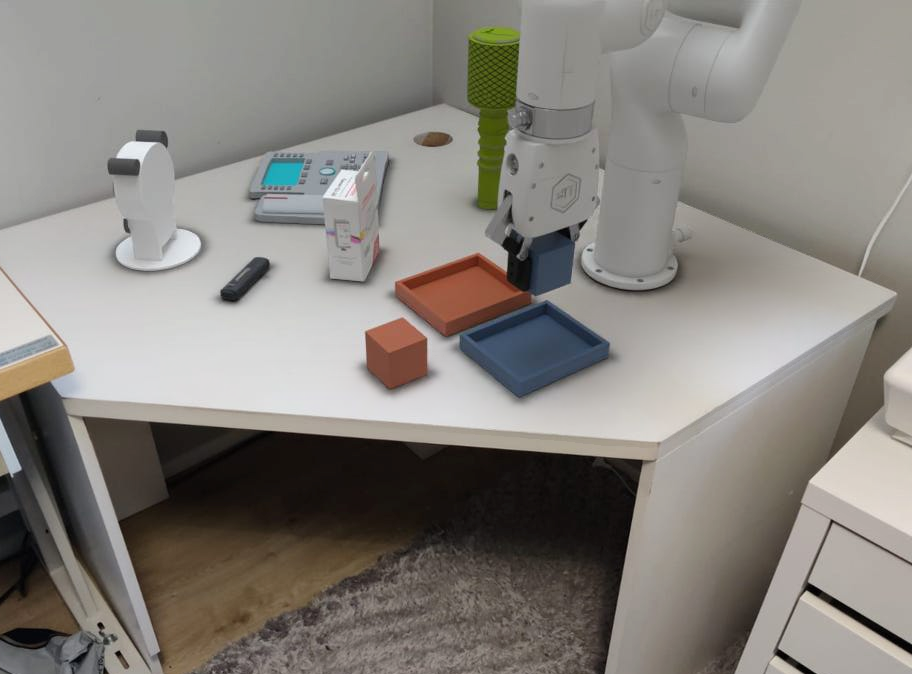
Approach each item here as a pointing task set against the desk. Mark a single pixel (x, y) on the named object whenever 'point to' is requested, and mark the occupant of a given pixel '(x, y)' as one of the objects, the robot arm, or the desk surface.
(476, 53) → the microphone
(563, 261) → the slate block
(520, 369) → the slate tray
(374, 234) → the ink cartridge box
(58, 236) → the desk surface
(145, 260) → the panda figurine
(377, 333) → the terracotta block
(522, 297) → the terracotta tray
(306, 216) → the office telephone
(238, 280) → the usb stick
